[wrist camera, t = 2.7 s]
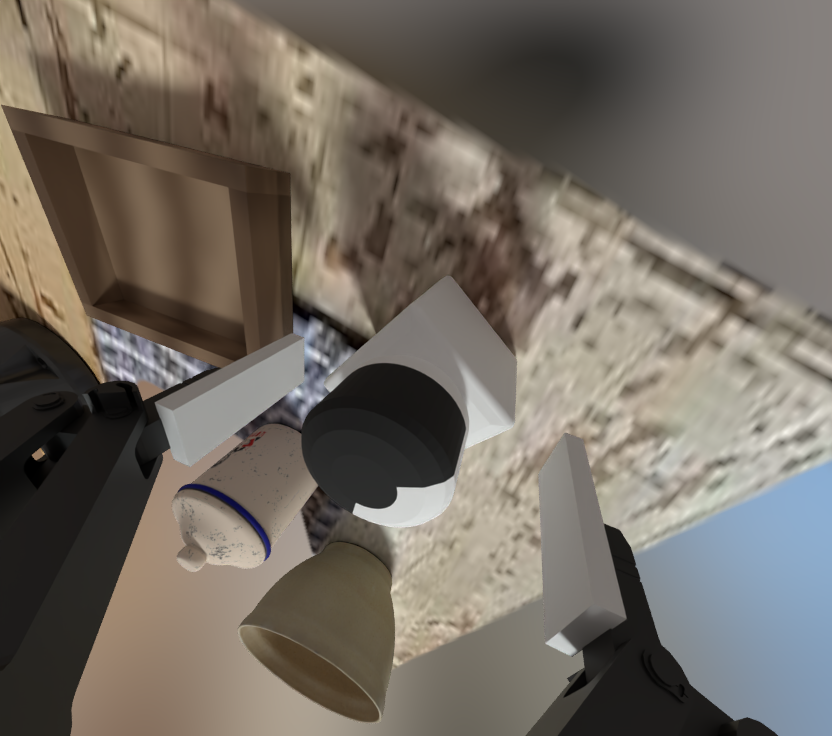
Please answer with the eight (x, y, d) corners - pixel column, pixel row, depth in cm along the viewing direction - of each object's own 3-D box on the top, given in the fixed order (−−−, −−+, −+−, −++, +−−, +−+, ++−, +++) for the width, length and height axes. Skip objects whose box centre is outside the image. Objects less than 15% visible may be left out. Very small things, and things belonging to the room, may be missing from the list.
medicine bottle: (375, 336, 21) (244, 446, 11) (450, 271, 18) (354, 349, 8) (437, 407, 23) (369, 564, 12) (519, 360, 19) (516, 529, 9)
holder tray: (132, 304, 28) (86, 315, 25) (74, 119, 21) (1, 104, 18) (293, 364, 25) (263, 385, 22) (290, 173, 18) (244, 165, 15)
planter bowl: (353, 506, 32) (285, 623, 23) (444, 598, 35) (416, 735, 26) (282, 535, 40) (212, 629, 31) (361, 607, 43) (317, 713, 34)
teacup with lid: (264, 403, 29) (131, 502, 19) (340, 456, 29) (246, 581, 19) (244, 466, 35) (137, 563, 26) (306, 509, 35) (223, 623, 25)
